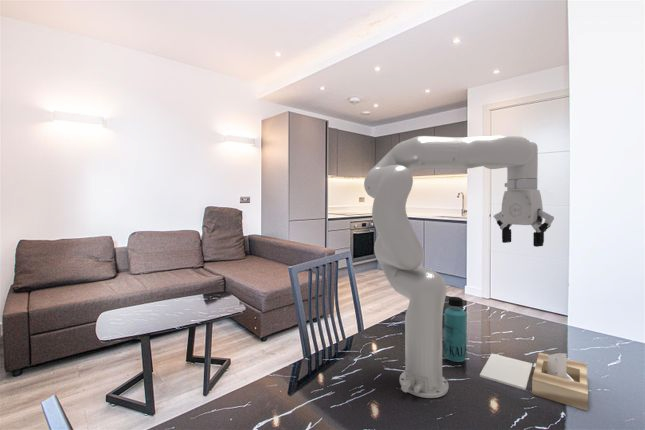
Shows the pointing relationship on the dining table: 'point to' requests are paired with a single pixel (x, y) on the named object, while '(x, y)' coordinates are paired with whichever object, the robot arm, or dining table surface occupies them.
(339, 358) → the dining table surface
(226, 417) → the dining table surface
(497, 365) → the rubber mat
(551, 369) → the white angled block
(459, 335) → the beverage bottle
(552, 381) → the block
